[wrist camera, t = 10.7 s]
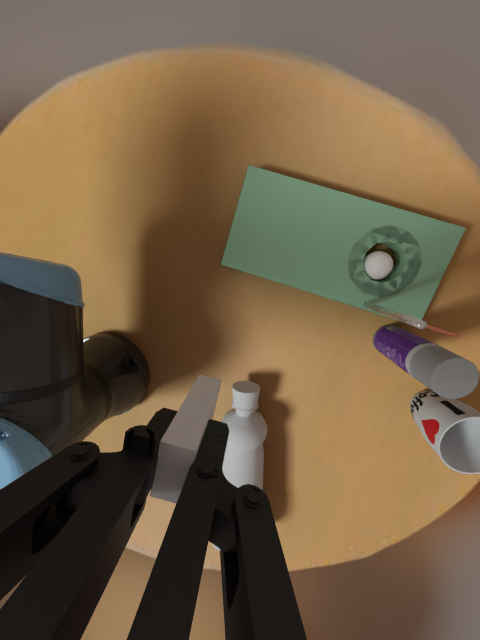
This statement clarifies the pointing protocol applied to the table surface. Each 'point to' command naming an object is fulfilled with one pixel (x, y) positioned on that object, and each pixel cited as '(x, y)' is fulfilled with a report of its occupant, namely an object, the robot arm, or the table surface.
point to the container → (427, 362)
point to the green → (336, 243)
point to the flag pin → (406, 319)
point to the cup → (449, 429)
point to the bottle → (244, 437)
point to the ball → (377, 265)
